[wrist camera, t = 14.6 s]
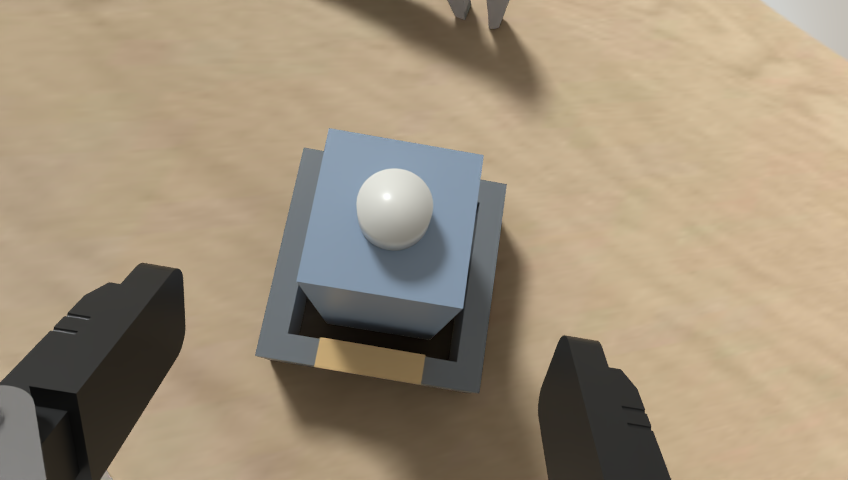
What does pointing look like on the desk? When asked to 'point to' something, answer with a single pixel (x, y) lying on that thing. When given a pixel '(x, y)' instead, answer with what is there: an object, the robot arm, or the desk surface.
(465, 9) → the caliper
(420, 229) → the blue gray block
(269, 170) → the desk surface
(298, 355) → the pocket plate
